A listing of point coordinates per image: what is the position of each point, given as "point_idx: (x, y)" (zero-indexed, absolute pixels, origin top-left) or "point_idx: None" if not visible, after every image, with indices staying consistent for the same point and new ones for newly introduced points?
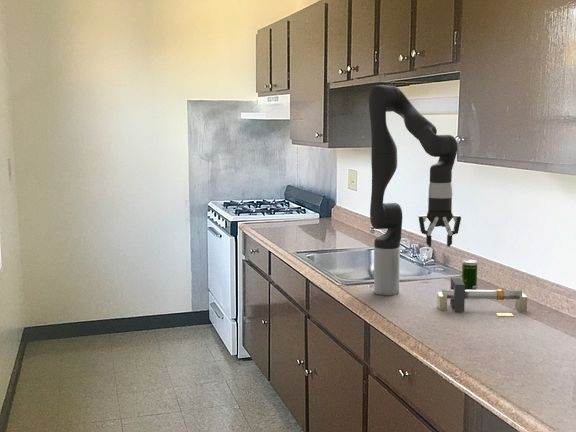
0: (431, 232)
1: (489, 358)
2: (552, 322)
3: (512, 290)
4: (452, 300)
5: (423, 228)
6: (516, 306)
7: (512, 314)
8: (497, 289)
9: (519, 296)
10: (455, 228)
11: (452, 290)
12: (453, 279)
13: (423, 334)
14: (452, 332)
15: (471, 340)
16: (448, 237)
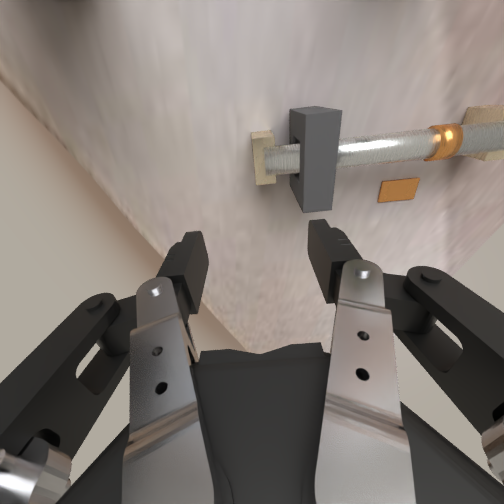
0: (191, 339)
1: None
2: (469, 222)
3: (490, 141)
4: None
5: (108, 379)
6: (467, 123)
7: (416, 188)
8: (443, 144)
9: (486, 156)
10: (419, 359)
11: (295, 166)
12: (311, 140)
13: (223, 301)
14: (267, 290)
15: (289, 312)
16: (325, 295)
